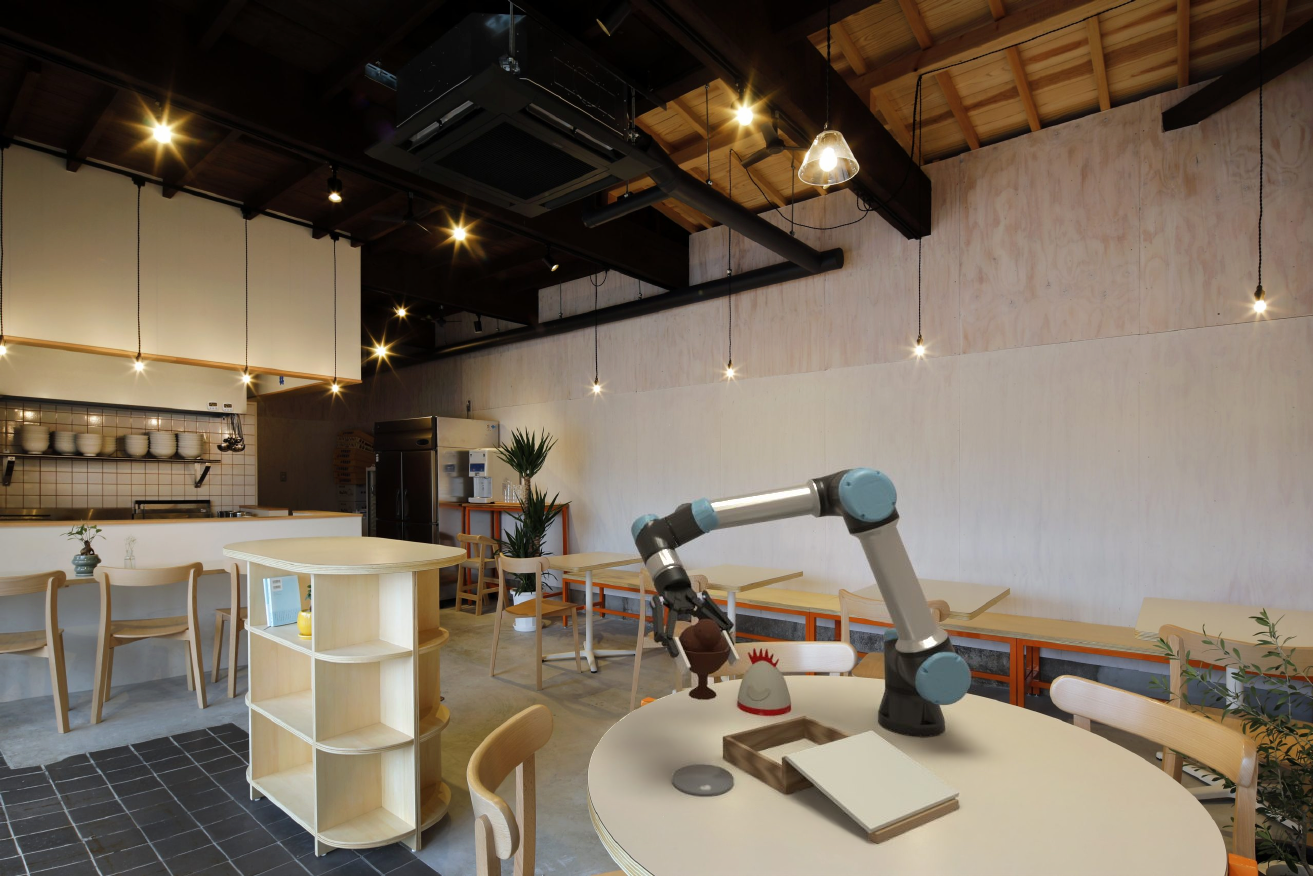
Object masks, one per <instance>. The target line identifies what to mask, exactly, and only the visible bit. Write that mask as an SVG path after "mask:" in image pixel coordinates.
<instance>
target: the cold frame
mask: <svg viewBox="0 0 1313 876" xmlns="http://www.w3.org/2000/svg"><path fill="white" fill-rule="evenodd" d="M851 736H853V735H851V734H849V733H846V732H844V731H841V730H839V729H837V728H834V727H832V726H830V725H828V724H825V723H823V722H820V721H818V720H815V719H813V718H811V717H809V716H806V715H803V716H799V717H798V716H797V717H796V718H791V719H787V720H783V721H780V722H779V721H778V722H774V723H771V724H767V725H763V726H759V727H755V728H752V729H747V730H744V731H740V732H736V733H732V734H731V733H730V734H728V735H724V736H722V759H723V760H725V761H726V762H729V763H730V764H732V765H734V767H736V768H739V769H740V770H742V771H744V773H745V772H746V773H747V774H749V775H750V776H752V777H754V778H756V779H757V780H760V782H763V783H764V784H766V785H768V786H770V787H771V788H773V789H775V790H776V791H778V792H780V794H781V793H782V794H784V795H785V796H788V795H790V794H792V793H796V792H798V791H802V790H805V789H808V788H811V787H814V786H815V785H814V784H813V783H812V782H811V781H809V780H808V779H807V778H806V777H805V776H804V775H803V774H802V773H800V772H799V771H798V770H797V769H796V768H795V767H794V766H792V765H791V764H790V763H789V762H788V761H787V760H786V755H784V756H782V757H781V763H779V762H777V761H776V760H773V759H771V758H770V757H768V756H766V755H764V754H762V753H760V751H764V750H767V749H771V748H774V747H778V746H782V745H785V744H789V743H793V742H796V741H800V740H804V739H806V740H808V741H810V742H811V743H815V744H817V745H818V746H820V745H823V744H827V743H830V742H834V741H837V740H841V739H844V738H847V737H851Z"/></svg>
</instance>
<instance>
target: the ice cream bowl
mask: <svg viewBox="0 0 1313 876" xmlns="http://www.w3.org/2000/svg"><path fill="white" fill-rule="evenodd" d="M678 639H679V641H680V643H681V646H682V648H683V650H684V652H685V655H686V657H687V659H688V661H689V664H690V666H691V667H690V668H689V670H688V671H690V672H692V673H693V674H695V675H696V676H697V678H698V679H697V680H698V684H697V686H696V687H694V688H692V689H690V691H689V692H688V697H690V698H691V699H694V700H697V701H698V700H701V701H707V700H713V699H715V698H716V697H717V696H718V695H717V692H716V691H714V690H713V689H712V688H710V687H709V686H708V677H709V675H711V674H714V673H716V672H717V671H719V670H720V669H721V668H722V667H723V666H724V664H725V663H726V662H728V660H727V659H728V657H729V655H730V650H731V647H730V646H728V643H727V641H726V639H725V638H724V637H723V636H722V635H721V628H720V627H719V626H718V624H717V623H716V622H715V621H714V620H711V619H701V620H699V619H698V621H697V622H696V623H695V624H693V625H690V626H687V627H686V628H685V629H683V631H682V632H681V633H680V635H679V637H678Z"/></svg>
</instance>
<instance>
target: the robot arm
mask: <svg viewBox="0 0 1313 876" xmlns="http://www.w3.org/2000/svg"><path fill="white" fill-rule="evenodd" d="M897 495H898V494H897V489H896V486H895V485H894V483H893V481H892V479H891V478H889V476H888V475H886V474H885V473H884V472H882V471H879V470H877V469H874V468H872V467H871V468H870V467H857V468H851V469H844V470H843V469H842V470H839V471H837V472H833V473H831V474H827V475H824V476H822V477H816V478H811V479H810V478H809V479H808V480H807V482H805V483H804V484H799V485H793V486H786V487H780V488H774V489H768V490H761V491H757V492H751V493H749V492H748V493H745V494H739V495H738V494H737V495H731V496H726V497H722V498H721V497H720V498H714V499H708V498H706V497H702V498H700V499H699V498H698V500H693V502H687V503H686V502H685V503H681V504H680V505H678V506H677V507H676V509H675V510H674V512H672V513H670V514H668V515H667V516H663V517H662V518H660V517H659V516H658V515H657V514H654V513H649V514H643V515H641V516H639V517H638V518H636V519H635V520H634V521H633V523H632V525H631V527H630V528H631V529H630V531H631V532H630V533H631V536H632V539H633V540H634V544H635V546H636V549H637V551H638V552H639V554H640V557H641V560H642V561H643V563H644V566H645V568H646V571H647V573H648V575H649V578H650V579H651V581H652V583H653V587H654V589H655V590H656V593H657V594H653V595H652V598H651V599H650V601H649V603H648V605H649V606H650V609H651V613H652V629H653V641H654V642H655V643H656V644H659V643H660V644H661V646H662V647H663V648H665V647H666V649H667V650H668V653H669V655H670V657H671V658H672V659H674V661H675V662H676V665H677V667H678V669H679V672H680V674H681V676H682V675H686V674H687V672H688V671H690V670H689V668H690V667H691V666H690V664H689V661H688V659H687V657H686V655H685V652H684V650H683V648H682V646H681V643H680V641H679V637H678V636H674V633H675V629H676V623H677V617H678V616H683V615H690V616H691V617H693V618H697V619H698V621H699V620H701V619H711V620H714V621H715V622H716V623H717V624H718V626H719V627H720V629H721V635H722V636H723V637H724V638H725V639H726V641H727V643H728V646H730V647H731V650H730V655H729V657H728V659H727V662H728V664H729V666H730V667H734V666H736V664H737V662H739V660H740V656H739V654H738V652H737V650H736V648H735V647H734V646H735V642H734V640H733V638H732V636H731V633H730V631H731V630H732V629H733V627H734V626H735V624H734V622H733V621H732V620H731V619H730V618H729V617H728V616H727V615H726V613H725V612H724V611H723V610H722V609H721V608H720V606H719V605H717V603H715V601H714V600H713V599H712V598H711V595H710V594H709V592H708V591H707V590H706V589H704V590H702V592H698V593H697V592H696V591H695V590H694V589H693V588H692V587H693V586H692V581H691V579H690V577H689V575H688V573H687V571H686V569H685V568H684V565H683V562H682V561H681V559H680V556H679V555H678V553H677V551H676V549H678V548H680V547H682V546H683V545H685V544H688V543H689V542H691V541H693V540H695V539H698V538H699V537H701V536H704V535H705V534H709V533H710V532H711V531H712V532H713V531H717V530H722V529H723V530H724V529H729V528H730V529H731V528H735V527H743V526H748V525H753V524H754V525H755V524H760V523H761V524H762V523H766V522H773V521H779V520H786V519H792V518H798V517H803V516H805V517H806V516H810V515H811V516H813V517H814V518H823V517H842V519H843V521H844V523H845V526H846V528H847V531H848V534H849V535H850V536H853V537H855V538H857V539H858V540H859V542H860V544H861V547H862V549H863V552H864V555H865V557H866V560H867V562H868V564H869V567H870V570H871V573H872V575H873V576H874V580H875V582H876V584H877V587H878V589H879V592H880V594H881V597H882V599H883V602H884V604H885V607H886V609H887V611H888V614H889V616H890V619H891V622H892V624H893V626H894V627H890V628H887V629H886V630H884V635H883V642H882V644H883V657H884V660H883V663H884V665H883V667H884V692H883V695H882V698H881V702H880V704H879V708H878V710H877V722H878V723H879V725H880V726H881V727H882V728H884V729H886V730H888V731H891V732H893V733H897V734H901V735H905V736H911V737H926V738H927V737H935V736H940V735H942V734H944V732H945V731H946V720H945V717H944V714H943V711H942V708H941V706H949V705H953V704H956V703H958V702H959V701H961V700H962V699H963V698H964V697H965V695H967V692H968V690H969V689H970V686H971V682H972V673H971V669H970V667H969V665H968V664H967V662H966V661H965V659H964V658H963V657H962V656H961V655H959V654H958V653H956V650H955V648H954V645H953V643H952V641H951V639H950V637H949V633H948V632H947V631H946V630H945V629H943V628H941V627H938V626H937V624H936V621H935V619H934V617H933V614H932V610H931V609H930V606H929V603H928V601H927V599H926V596H925V594H924V592H923V589H922V586H921V584H920V582H919V579H918V576H917V575H916V572H915V570H914V567H913V565H912V562H911V560H910V558H909V555H908V552H907V550H906V548H905V545H904V543H903V540H902V538H901V535H900V533H899V530H898V528H897V526H898V522H899V521H900V518H901V517H900V515H899V512H898V509H897V506H896V505H897V500H898V496H897ZM663 607H665V608H667V609H668V610H667V616H666V618H667V620H666V624H664V623H665V622H664V611H663V609H664V608H663ZM695 608H696V609H695ZM664 625H665V626H664Z"/></svg>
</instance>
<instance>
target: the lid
mask: <svg viewBox="0 0 1313 876" xmlns="http://www.w3.org/2000/svg"><path fill="white" fill-rule="evenodd" d="M785 756H786V760H787V761H788V762H789V763H790V764H791V765H792V766H794V767H795V768H796V769H797V770H798V771H799V772H800V773H802V774H803V775H804V776H805V777H806V778H807V779H808V780H809V781H811V782H812V783H813V784H814V786H815V787H816V788H818V789H819V790H820V792H822V793H823V794H824V795H825V796H826V797H828V798H829V799H830V800H831V801H832V802H833V803H835V805H837V806H838V807H839V808H840V809H841V810H843V812H845V813H846V814H847V815H848V816H849V817H850V818H851V819H852V820H854V822H856V823H857V824H858V825H860V826H861V828H863V829H864V830H865V831H866V832H867V833H866V835H867V836H866V837H867V838H866V839H868V840H870V841H871V842H873V843H875V844H877V845H879V844H881V843H883V842H885V841H888V840H890V839H892V838H894V837H897V836H898V835H901V834H904V833H906V832H909V831H910V830H913V829H916V828H918V827H919V826H922V825H924V824H926V823H929V822H931V821H933V820H935V819H938V818H940V817H943V816H945V815H947V814H949V813H952V812H954V811H956V810H958V809H959V807H960V806H959V805H960V804H959V801H960V800H959V799H958V797H959V796H960V791H959V790H957V789H956V788H954V787H953V786H951V785H950V784H948V782H947V783H946V781H944V780H942V779H941V778H940V777H938V776H936V775H935V774H934V773H933V772H931V771H930V770H928V769H927V768H926V767H924V766H923V765H921V764H920V763H918V762H917V761H916V760H914V759H913V758H911V756H909V755H907V754H906V753H904V752H903V751H901V750H900V749H899V748H897V747H896V746H894V744H891V742H888V741H887V740H886V739H884V738H883V737H881V736H880V735H879V734H877V732H875V731H873V730H868V731H865V732H862V733H858V734H855V735H852V736H851V737H847V738H844V739H841V740H837V741H834V742H830V743H827V744H823V745H817V746H814V747H811V748H806V749H804V750H800V751H796V752H793V753H789V754H786V755H785Z"/></svg>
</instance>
